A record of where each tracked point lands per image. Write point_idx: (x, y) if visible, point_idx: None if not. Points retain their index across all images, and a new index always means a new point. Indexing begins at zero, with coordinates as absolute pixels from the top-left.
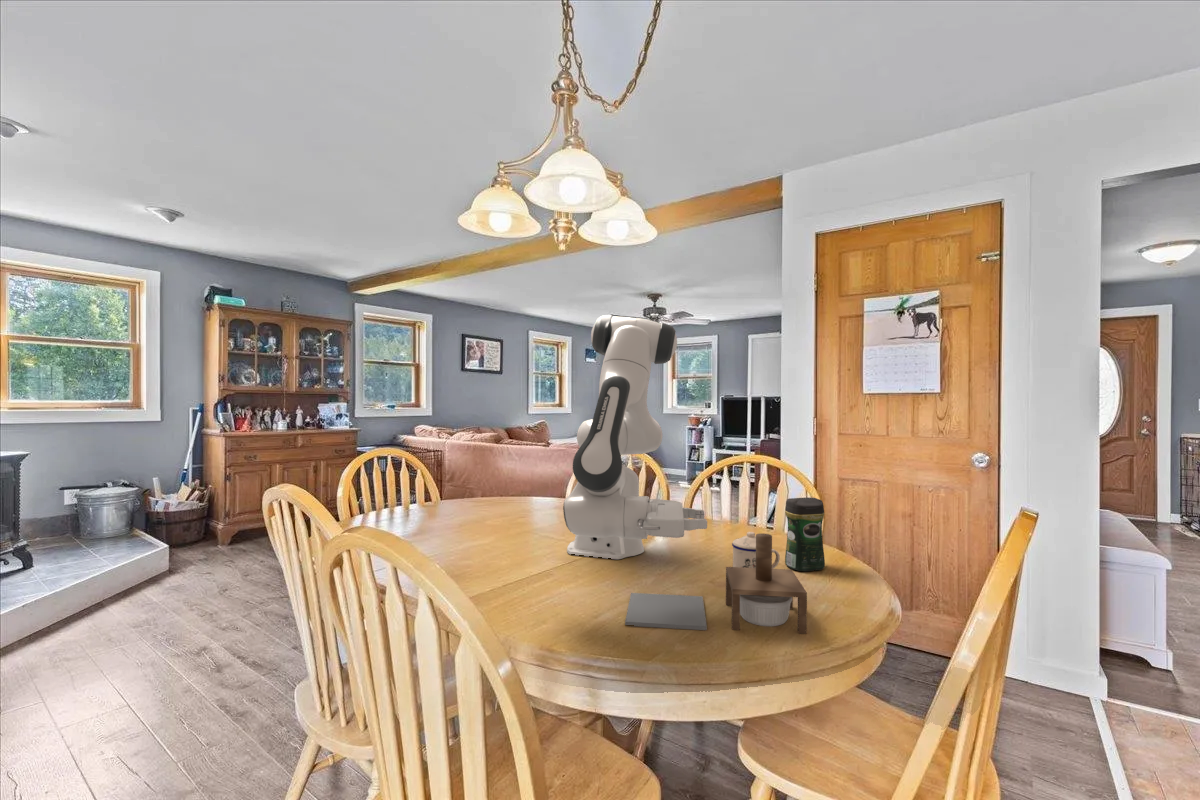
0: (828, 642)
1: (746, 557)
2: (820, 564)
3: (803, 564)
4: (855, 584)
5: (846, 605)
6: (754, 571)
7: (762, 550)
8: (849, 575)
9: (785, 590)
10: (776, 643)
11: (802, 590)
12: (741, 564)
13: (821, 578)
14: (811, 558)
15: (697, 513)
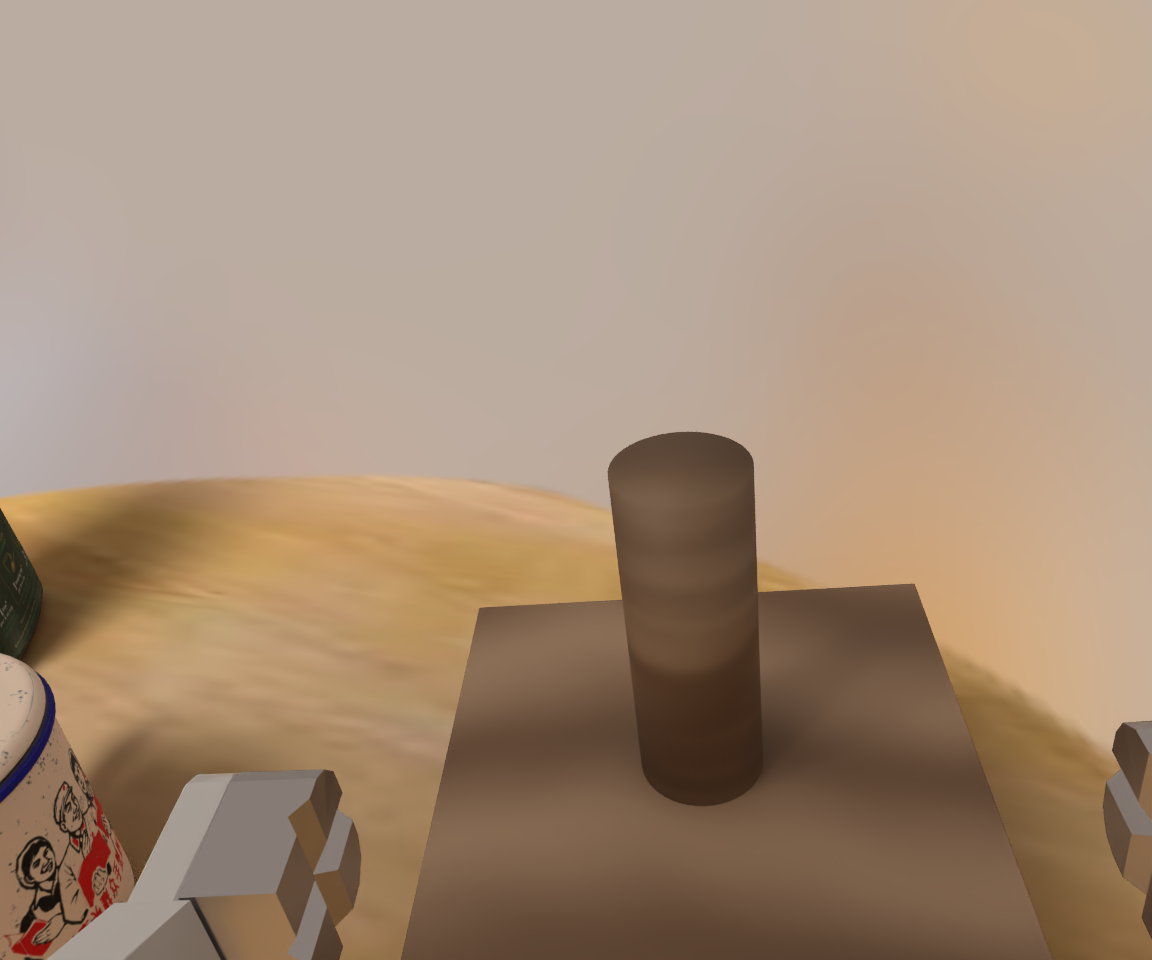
0: (970, 697)
1: (15, 846)
2: (34, 576)
3: (10, 631)
4: (255, 529)
5: (499, 584)
6: (530, 799)
7: (753, 576)
8: (143, 531)
9: (921, 667)
10: (1119, 924)
11: (883, 597)
12: (1, 923)
13: (141, 615)
14: (11, 577)
15: (301, 906)
